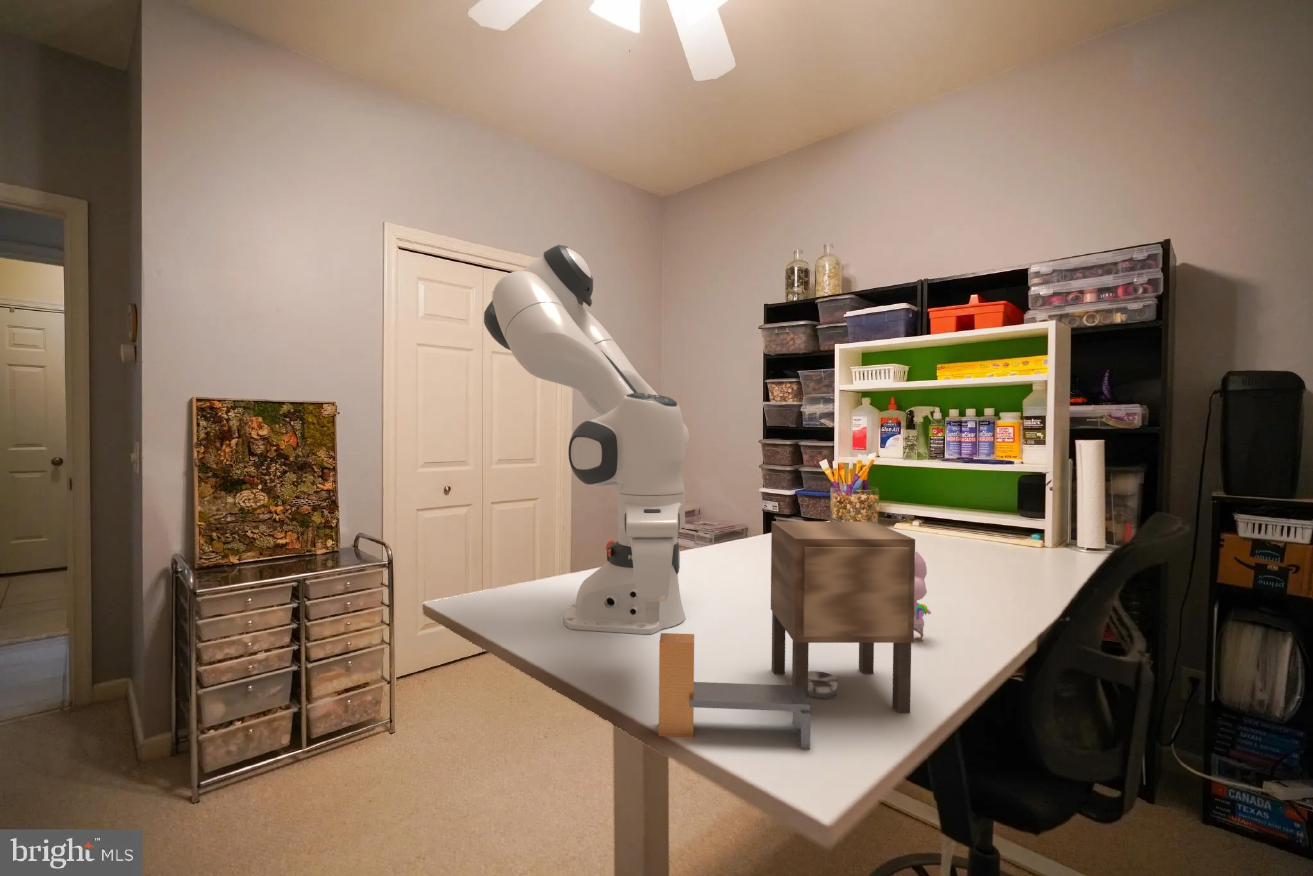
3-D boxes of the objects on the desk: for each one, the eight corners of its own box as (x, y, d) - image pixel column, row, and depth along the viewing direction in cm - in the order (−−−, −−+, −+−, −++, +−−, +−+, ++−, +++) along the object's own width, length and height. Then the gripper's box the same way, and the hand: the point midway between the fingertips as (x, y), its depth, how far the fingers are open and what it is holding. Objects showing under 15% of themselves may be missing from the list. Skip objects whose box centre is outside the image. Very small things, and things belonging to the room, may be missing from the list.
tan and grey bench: (657, 743, 68) (658, 646, 68) (660, 717, 74) (661, 628, 74) (810, 749, 67) (811, 651, 67) (800, 723, 73) (801, 633, 73)
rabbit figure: (922, 635, 105) (924, 549, 104) (943, 647, 99) (944, 556, 99) (888, 636, 104) (890, 549, 104) (907, 649, 98) (909, 557, 98)
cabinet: (795, 716, 75) (797, 539, 74) (769, 669, 89) (771, 521, 89) (914, 716, 75) (917, 540, 75) (870, 669, 90) (872, 521, 89)
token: (805, 701, 79) (805, 686, 79) (795, 685, 84) (795, 671, 84) (842, 701, 80) (842, 686, 80) (830, 685, 85) (830, 671, 84)
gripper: (630, 504, 91) (631, 595, 91) (625, 525, 71) (625, 643, 71) (672, 504, 91) (672, 595, 91) (679, 525, 71) (679, 642, 71)
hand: (652, 616), depth 81 cm, fingers open, 3 cm apart
